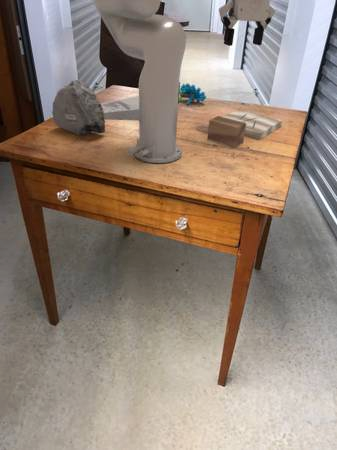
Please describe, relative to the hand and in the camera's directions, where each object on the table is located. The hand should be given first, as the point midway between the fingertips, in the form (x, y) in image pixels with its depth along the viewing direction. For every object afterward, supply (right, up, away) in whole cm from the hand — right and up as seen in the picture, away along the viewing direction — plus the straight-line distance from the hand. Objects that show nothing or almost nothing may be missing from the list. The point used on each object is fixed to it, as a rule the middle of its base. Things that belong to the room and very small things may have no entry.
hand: (242, 44), depth 98 cm
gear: (-12, -4, +36) cm, 38 cm away
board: (+5, -18, +17) cm, 25 cm away
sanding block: (-4, -25, +6) cm, 26 cm away
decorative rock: (-46, -23, +7) cm, 52 cm away
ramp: (-33, -13, +22) cm, 42 cm away
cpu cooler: (-21, -9, +28) cm, 37 cm away
